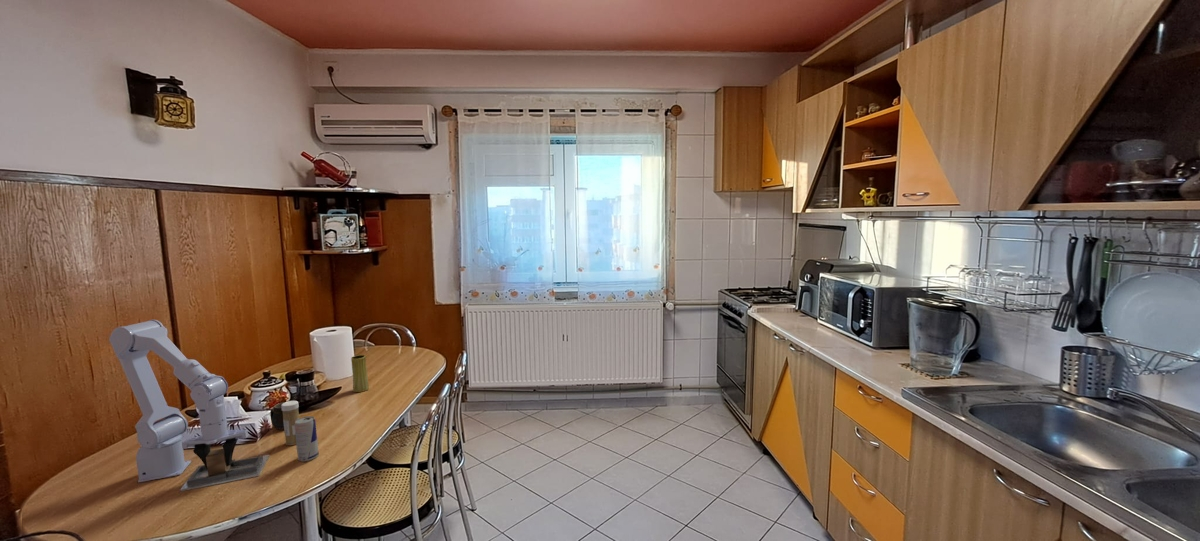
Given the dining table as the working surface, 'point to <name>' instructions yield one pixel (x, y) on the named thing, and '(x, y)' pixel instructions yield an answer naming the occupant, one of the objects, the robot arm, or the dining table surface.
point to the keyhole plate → (227, 473)
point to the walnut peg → (216, 462)
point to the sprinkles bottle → (290, 420)
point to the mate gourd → (278, 416)
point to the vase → (359, 373)
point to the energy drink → (306, 438)
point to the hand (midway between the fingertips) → (219, 466)
